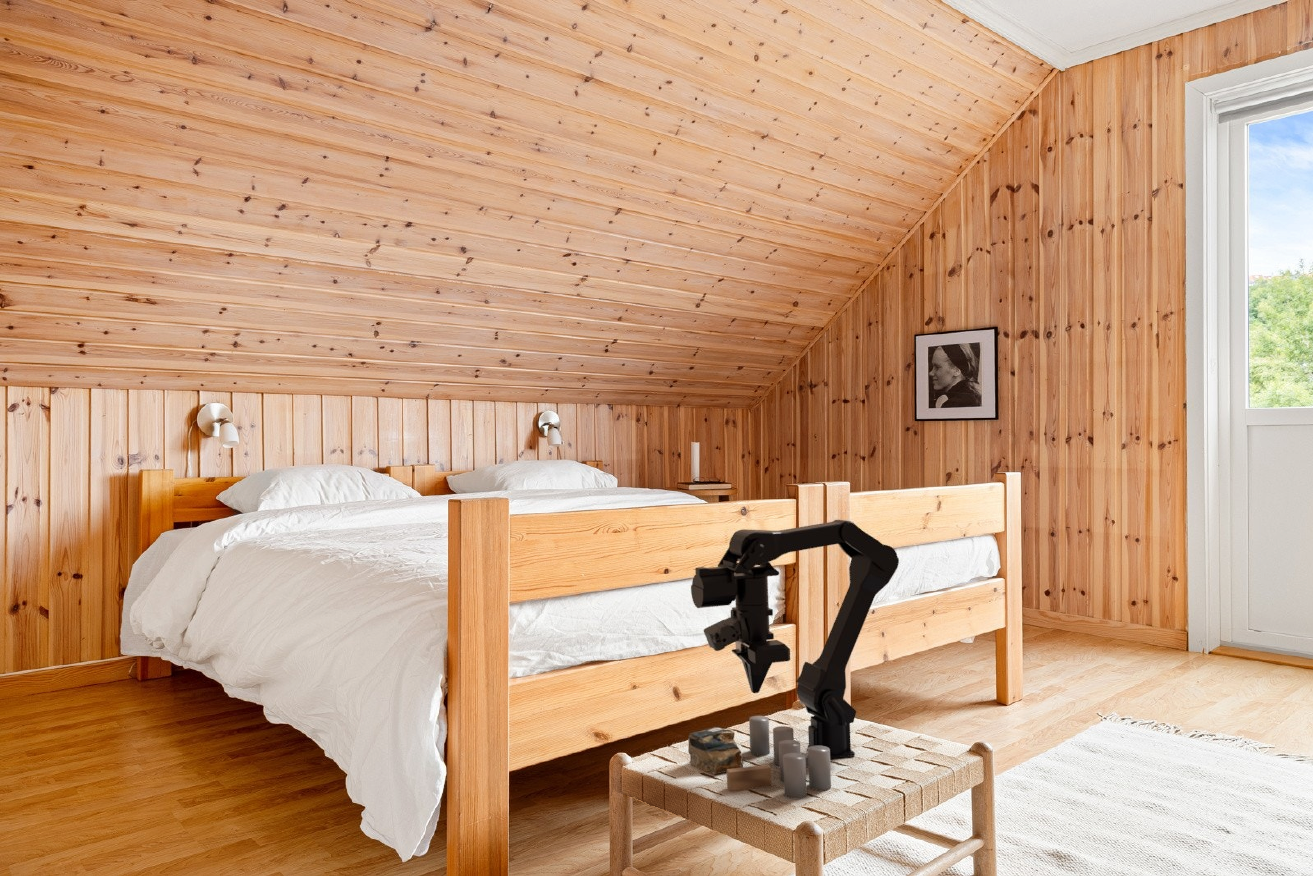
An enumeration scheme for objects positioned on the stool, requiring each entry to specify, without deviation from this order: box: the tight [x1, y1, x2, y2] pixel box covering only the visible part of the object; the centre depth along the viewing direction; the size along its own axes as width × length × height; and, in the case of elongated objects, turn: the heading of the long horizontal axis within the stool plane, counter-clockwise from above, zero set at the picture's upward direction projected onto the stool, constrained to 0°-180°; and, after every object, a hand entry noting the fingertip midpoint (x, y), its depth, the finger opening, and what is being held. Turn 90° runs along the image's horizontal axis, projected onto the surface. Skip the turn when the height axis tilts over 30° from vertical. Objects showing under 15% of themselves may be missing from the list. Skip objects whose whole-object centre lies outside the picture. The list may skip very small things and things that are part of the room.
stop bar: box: [726, 764, 772, 792], centre depth 145 cm, size 7×2×3 cm, turn 102°
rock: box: [687, 726, 744, 775], centre depth 156 cm, size 9×9×6 cm
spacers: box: [748, 715, 832, 800], centre depth 152 cm, size 8×24×6 cm, turn 12°
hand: (755, 692), depth 156 cm, fingers closed
